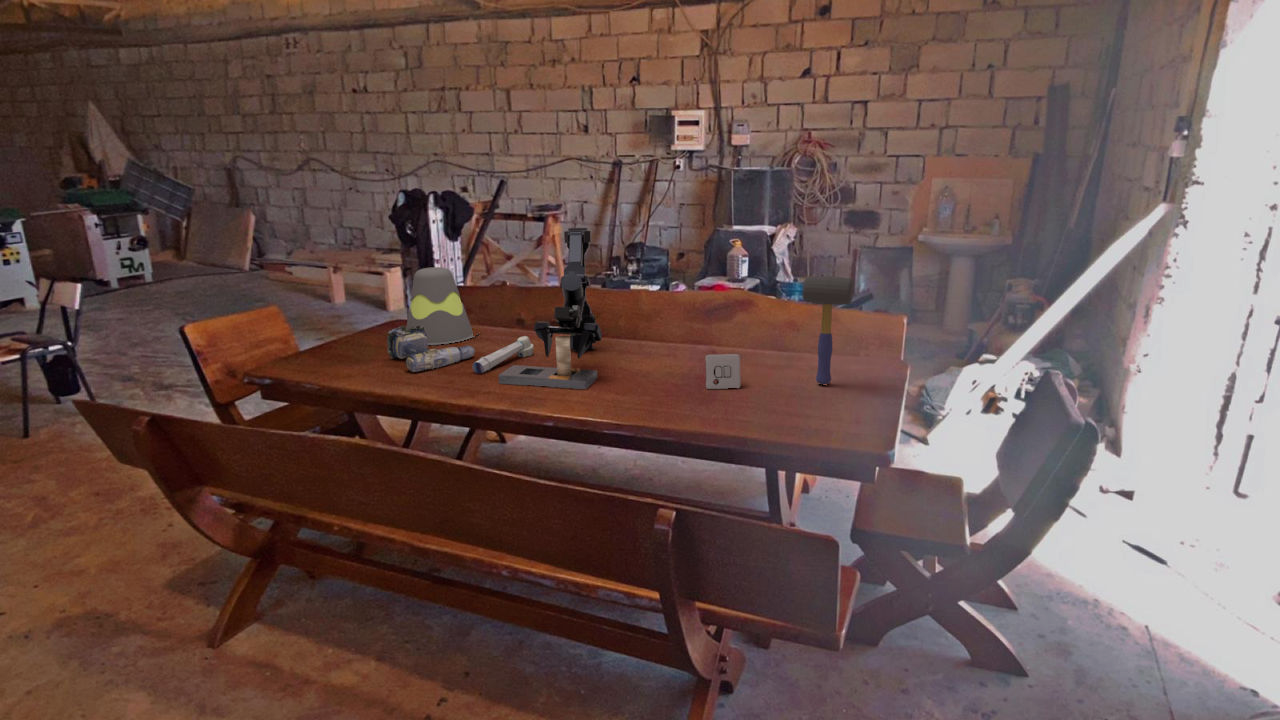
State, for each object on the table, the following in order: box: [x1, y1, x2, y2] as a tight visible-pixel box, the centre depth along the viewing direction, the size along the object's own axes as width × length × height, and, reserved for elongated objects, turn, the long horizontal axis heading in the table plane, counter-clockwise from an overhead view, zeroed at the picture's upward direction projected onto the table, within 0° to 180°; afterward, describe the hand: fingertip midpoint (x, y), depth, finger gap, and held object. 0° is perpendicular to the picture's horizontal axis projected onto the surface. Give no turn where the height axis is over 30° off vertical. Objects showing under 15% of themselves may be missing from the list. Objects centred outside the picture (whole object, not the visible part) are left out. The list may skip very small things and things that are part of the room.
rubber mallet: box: [802, 275, 854, 384], centre depth 200 cm, size 12×8×30 cm, turn 67°
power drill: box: [386, 325, 476, 373], centre depth 235 cm, size 22×23×11 cm
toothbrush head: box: [471, 335, 535, 375], centre depth 231 cm, size 5×7×25 cm
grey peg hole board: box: [498, 364, 598, 390], centre depth 212 cm, size 26×10×3 cm, turn 74°
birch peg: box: [554, 335, 572, 377], centre depth 210 cm, size 4×4×13 cm
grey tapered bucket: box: [406, 266, 479, 347], centre depth 263 cm, size 28×28×24 cm
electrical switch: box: [704, 353, 741, 390], centre depth 204 cm, size 9×5×9 cm, turn 90°
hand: (562, 357), depth 209 cm, fingers open, 9 cm apart
